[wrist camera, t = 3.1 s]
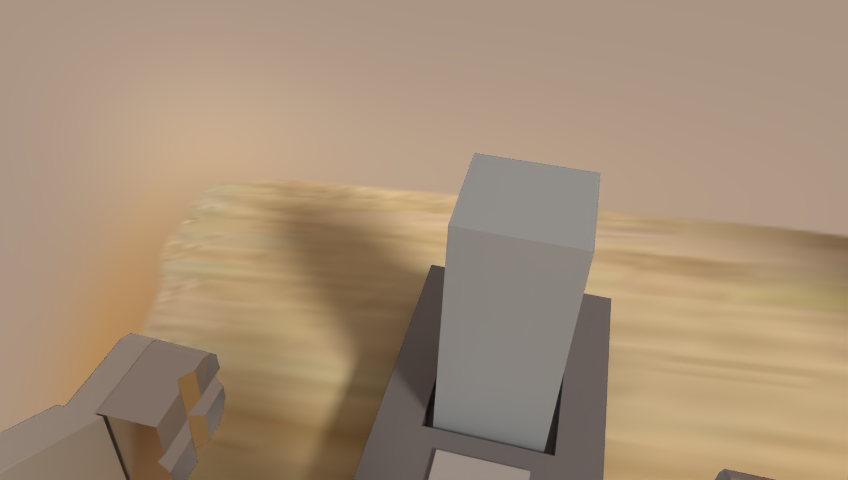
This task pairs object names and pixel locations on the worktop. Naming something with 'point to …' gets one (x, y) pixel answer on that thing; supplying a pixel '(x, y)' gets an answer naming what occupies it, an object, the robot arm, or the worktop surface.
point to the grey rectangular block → (512, 297)
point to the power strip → (476, 458)
